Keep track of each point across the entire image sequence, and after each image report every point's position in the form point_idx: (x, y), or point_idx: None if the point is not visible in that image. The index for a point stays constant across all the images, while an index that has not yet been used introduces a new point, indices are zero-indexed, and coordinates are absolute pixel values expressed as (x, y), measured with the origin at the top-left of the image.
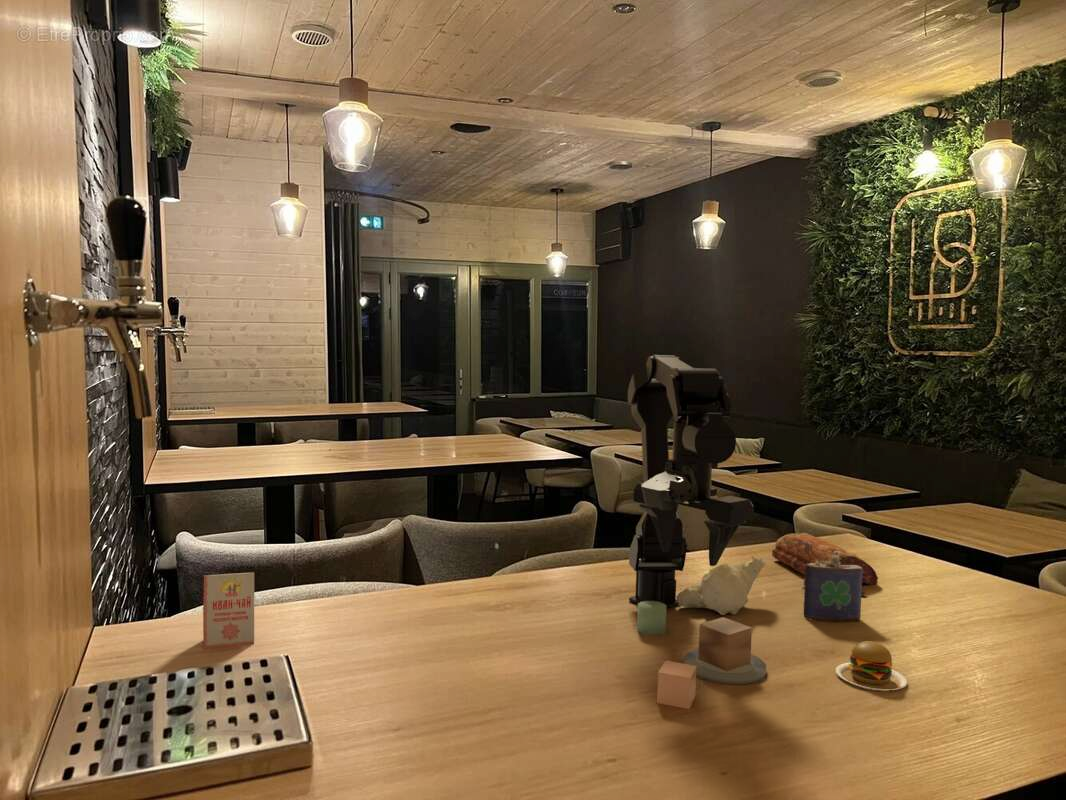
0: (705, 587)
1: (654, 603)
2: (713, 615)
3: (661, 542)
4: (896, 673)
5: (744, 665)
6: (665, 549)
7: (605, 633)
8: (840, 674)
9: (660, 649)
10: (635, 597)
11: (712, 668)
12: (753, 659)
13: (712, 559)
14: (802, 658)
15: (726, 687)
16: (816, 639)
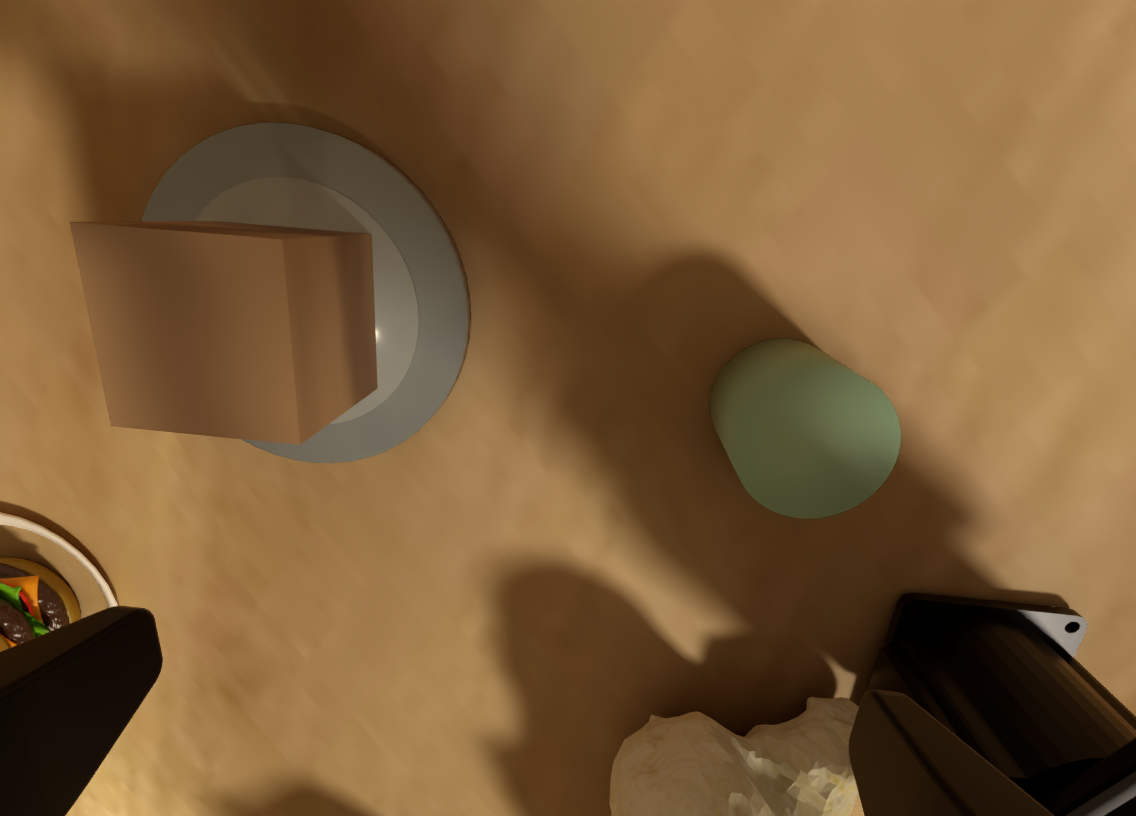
0: (713, 778)
1: (825, 482)
2: (692, 709)
3: (979, 784)
4: None
5: None
6: (872, 725)
7: (920, 190)
8: (72, 553)
9: (601, 248)
10: (1061, 643)
11: (266, 196)
12: None
13: (14, 649)
14: (236, 589)
15: (167, 139)
16: (326, 750)
